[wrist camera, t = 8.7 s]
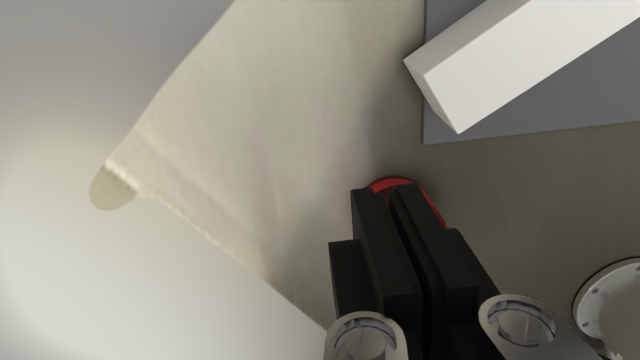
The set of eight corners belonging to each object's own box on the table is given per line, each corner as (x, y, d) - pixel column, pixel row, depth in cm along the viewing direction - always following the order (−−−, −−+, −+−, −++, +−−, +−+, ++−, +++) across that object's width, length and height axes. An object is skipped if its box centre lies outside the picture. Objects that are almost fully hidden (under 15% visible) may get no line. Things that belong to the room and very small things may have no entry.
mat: (640, 118, 41) (644, 120, 41) (421, 142, 40) (423, 145, 40) (708, -130, 32) (715, -131, 32) (427, -103, 31) (430, -104, 31)
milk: (401, 60, 36) (646, -117, 32) (434, 113, 39) (665, -44, 34) (423, 76, 31) (721, -135, 26) (459, 137, 33) (737, -47, 29)
